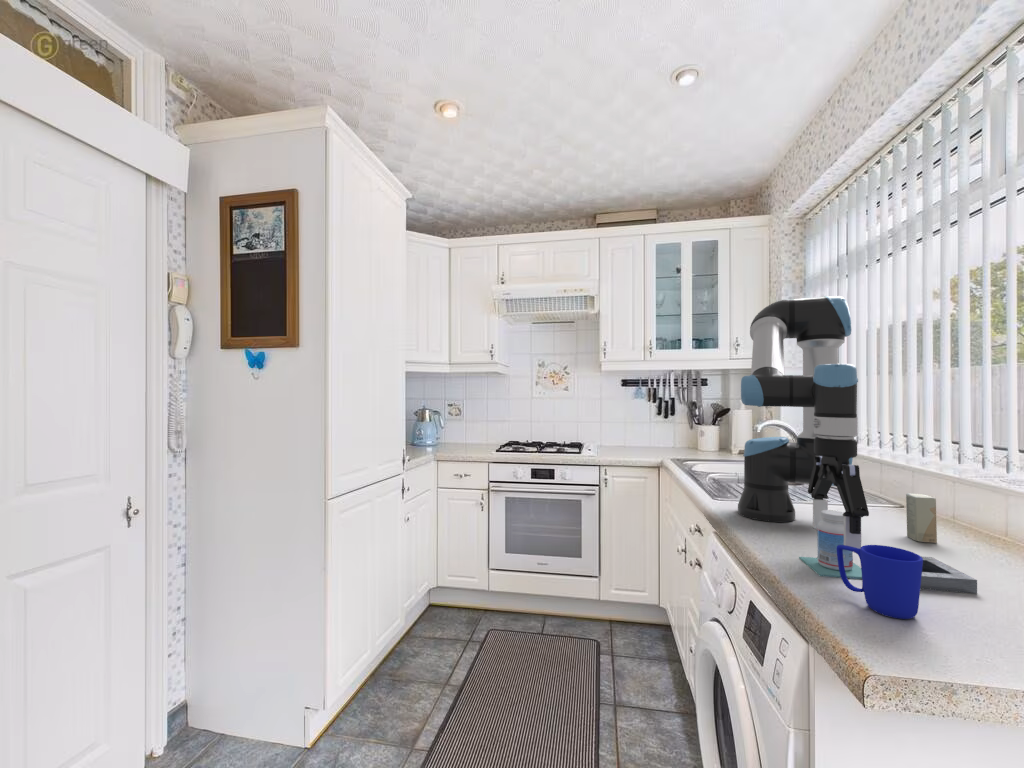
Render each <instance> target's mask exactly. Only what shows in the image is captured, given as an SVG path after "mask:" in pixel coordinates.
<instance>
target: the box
mask: <svg viewBox="0 0 1024 768" xmlns="http://www.w3.org/2000/svg"><path fill="white" fill-rule="evenodd" d="M905 500H906V501H905V503H906V507H905V508H906V536H907V537H908V538H910V539H912V540H913V541H915V542H919V543H920V542H923V543H933V544H937V543H938V536H937V535H938V532H937V530H938V529H937V528H938V527H937V498H936V497H933V496H930V495H927V494H924V493H923V494H921V493H910V492H909V493H906V494H905Z"/></svg>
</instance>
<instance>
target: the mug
mask: <svg viewBox="0 0 1024 768" xmlns="http://www.w3.org/2000/svg"><path fill="white" fill-rule="evenodd" d="M843 549H844V550H849V551H852V552H853V553H856V555H858V557H859V561H860V568H861V570H862V579H861V584H862V585H861V588H859V587H856V586H854V585H853V584H852V583H851V582H850V581H849V578H847V576H846V573H845V568H844V561H843ZM921 556H922V555H919V554H917V553H915V552H913V551H910V550H906V549H904V548H900V547H895V546H889V545H882V544H880V545H879V544H865V545H861V548H860V549H859V548H855V547H851V546H846V545H838V546H837V559H838V566H839V572H840V576H841V578H840V579H841V581H842V583H843V584H844V586H845V587H846V588H847V589H848V590H850V591H853V592H856V593H864V594H863V595H864V599H865V602H866V604H867V606H868V607H869V608H870V609H871V610H873V611H874V612H876V613H878V614H880V615H883V616H886V617H889V618H893V619H897V620H898V619H900V620H910V619H914V618H915V617H916V616H917V615H918V611H919V607H920V606H919V605H920V596H921V595H920V593H921V589H920V586H921V576H922V566H923V558H922V557H921Z"/></svg>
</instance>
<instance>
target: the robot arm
mask: <svg viewBox="0 0 1024 768" xmlns="http://www.w3.org/2000/svg"><path fill="white" fill-rule="evenodd" d="M851 334H852V320H851V313H850V308H849V305H848V301H846V299H845V297H843V296H840V295H838V296H837V295H835V296H827V295H823V296H813V297H806V298H794V299H789V298H788V299H781V300H778V301H775V302H773V303H771V304H768V305H767V306H766V307H764V308H763V309H762V310H760V311H759V312H758V313H757V314H756V315H755V316H754V318H753V320H752V321H751V323H750V328H749V335H750V338H751V340H752V353H751V355H752V357H751V368H750V369H751V370H750V371H751V373H750V375H744V376H742V377H741V378H740V400H741V403H742V404H743V405H744V406H752V407H753V406H754V407H758V408H759V407H760V408H762V407H783V408H785V407H788V408H789V407H790V408H792V407H793V408H802V426H803V427H802V432H800V433H799V434H798V435H797V436H796V442H790V440H789V438H788V437H787V436H770V437H769V436H767V437H758V438H751V439H749V440H747V441H746V442H745V443H744V448H743V449H744V450H743V457H744V459H743V460H744V461H743V462H744V468H743V469H744V470H743V473H744V474H743V481H744V482H743V483H744V485H743V490H742V492H741V496H740V498H739V501H738V503H737V513H738V515H740V516H743V517H745V518H748V519H752V520H757V521H761V522H762V521H763V522H772V523H788V522H794V521H795V520H796V509H795V507H794V504H793V501H792V498H791V495H790V492H789V483H793V484H804V485H805V484H806V485H808V488H807V493H808V494H810V495H811V499H812V528H813V529H814V530H817V525H818V523H819V522H821V521H823V519H822V518H821V511H823V510H829V505H828V503H829V501H828V499H829V495H828V493H829V491H830V490H831V488H832V487H836V488H837V492H838V494H839V497H840V500H841V502H842V505H843V508H844V513H843V516H844V545H846V546H851V547H855V548H859V549H860V548H861V547H862V518H863V517H869V515H870V511H869V509H868V504H867V500H866V496H865V492H864V489H863V485H862V484H863V483H862V480H861V476H860V475H861V474H860V466H859V465H858V464H853V459H854V458H856V457H857V456H858V441H857V440H856V439H855V437H858V411H857V410H858V409H857V408H858V383H859V379H858V374H857V373H858V372H857V371H858V370H857V367H856V366H855V365H854V364H852V363H839V348H840V347H841V346H842V345H843V344H844V343H845V338H846V337H849V336H850V335H851ZM786 339H796V346H798V347H799V348H800V349H801V350H802V374H798V375H797V374H794V375H793V374H785V353H784V352H785V351H784V350H785V349H784V340H786Z"/></svg>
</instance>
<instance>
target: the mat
mask: <svg viewBox="0 0 1024 768" xmlns="http://www.w3.org/2000/svg"><path fill="white" fill-rule="evenodd" d="M798 558H799V560H800V561H802V562H803V563H804V564H805V565H806V566H808V567H809V568H810V569H811V570H813V572H815V573H816V574H817V575H818V576H819V577H827V578H828V577H829V578H840V579H841V576H840V572H839V570H833V569H829V568H826V567H823V566H822V565H820V564H819V563H818V557H812V556H811V557H810V556H798ZM845 573H846V576H847V579H855V580H862V570H861V566H859V565H858V564H856V563H854V562H853V568H852V569H851V570H848V571H845Z"/></svg>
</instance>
